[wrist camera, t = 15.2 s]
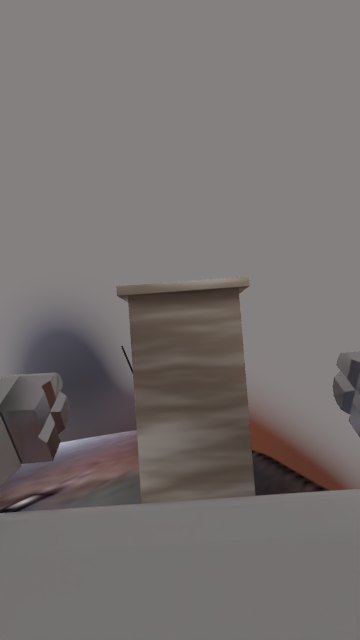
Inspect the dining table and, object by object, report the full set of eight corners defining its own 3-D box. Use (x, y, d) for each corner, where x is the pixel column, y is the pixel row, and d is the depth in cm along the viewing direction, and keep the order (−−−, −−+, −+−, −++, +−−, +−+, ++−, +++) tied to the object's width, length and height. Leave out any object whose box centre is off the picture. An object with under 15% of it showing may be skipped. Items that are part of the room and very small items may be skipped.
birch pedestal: (270, 530, 33) (248, 276, 34) (132, 539, 33) (116, 286, 34) (241, 466, 49) (227, 295, 50) (148, 473, 49) (137, 302, 50)
